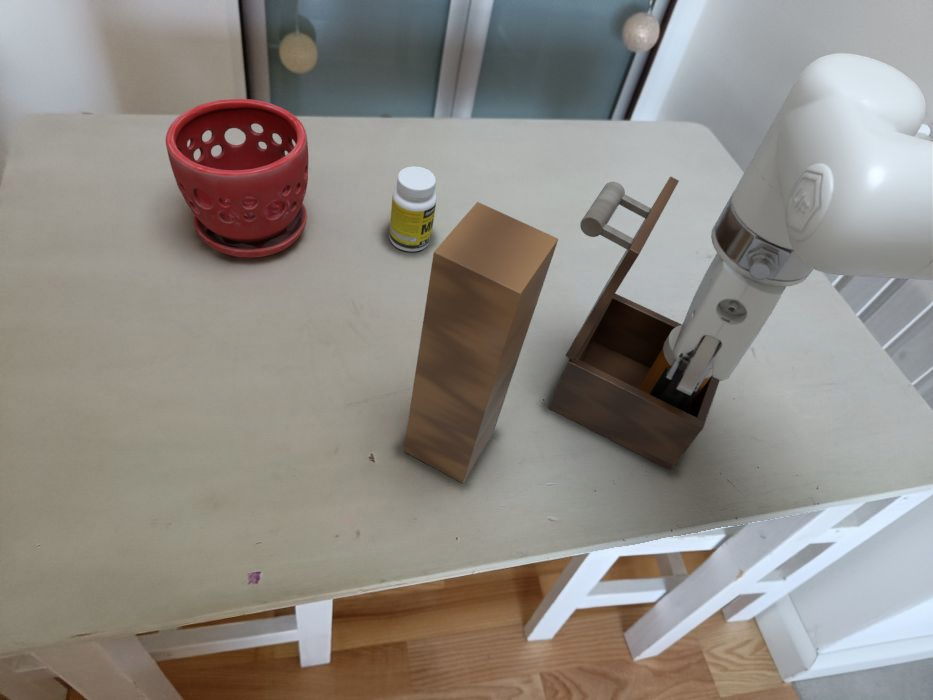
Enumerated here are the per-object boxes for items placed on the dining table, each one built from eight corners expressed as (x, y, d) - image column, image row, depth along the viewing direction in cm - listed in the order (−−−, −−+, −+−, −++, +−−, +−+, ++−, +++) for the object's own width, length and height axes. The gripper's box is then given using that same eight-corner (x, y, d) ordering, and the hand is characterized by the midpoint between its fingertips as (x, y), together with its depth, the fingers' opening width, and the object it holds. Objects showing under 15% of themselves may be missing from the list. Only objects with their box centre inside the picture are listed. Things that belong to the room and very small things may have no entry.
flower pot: (319, 196, 80) (317, 104, 71) (299, 277, 72) (293, 183, 62) (204, 181, 79) (186, 84, 69) (169, 261, 70) (144, 163, 61)
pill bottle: (694, 392, 66) (731, 340, 60) (680, 429, 63) (717, 378, 57) (646, 368, 67) (677, 315, 61) (630, 404, 64) (661, 352, 58)
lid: (679, 180, 56) (624, 151, 56) (639, 254, 49) (578, 220, 50) (613, 288, 66) (567, 263, 67) (573, 360, 60) (523, 332, 60)
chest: (699, 391, 70) (731, 347, 64) (670, 470, 63) (703, 428, 58) (586, 337, 72) (607, 289, 67) (547, 407, 66) (567, 361, 60)
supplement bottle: (424, 257, 76) (432, 197, 70) (383, 246, 76) (387, 185, 70) (435, 230, 79) (444, 170, 73) (396, 219, 79) (401, 158, 73)
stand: (493, 433, 63) (558, 238, 45) (462, 483, 59) (520, 293, 41) (436, 403, 64) (477, 201, 46) (403, 451, 60) (433, 251, 42)
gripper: (801, 333, 43) (687, 472, 57) (837, 195, 54) (733, 341, 68) (690, 282, 45) (605, 430, 59) (745, 157, 55) (662, 308, 69)
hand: (674, 381), depth 63 cm, fingers closed on pill bottle, 4 cm apart
